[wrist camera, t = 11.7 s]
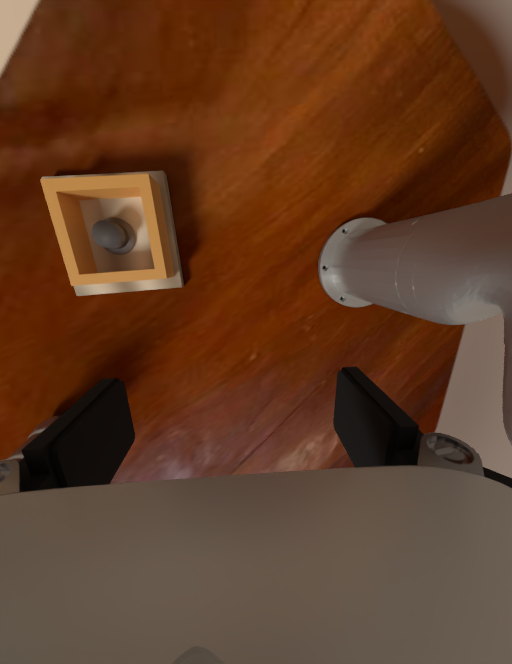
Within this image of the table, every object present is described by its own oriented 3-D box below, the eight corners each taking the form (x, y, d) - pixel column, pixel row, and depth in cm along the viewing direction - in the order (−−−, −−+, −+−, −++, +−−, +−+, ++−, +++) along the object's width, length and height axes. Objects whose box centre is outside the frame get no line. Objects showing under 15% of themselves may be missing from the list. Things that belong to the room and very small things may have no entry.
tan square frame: (159, 184, 30) (148, 173, 26) (174, 276, 33) (166, 278, 29) (65, 189, 29) (39, 179, 25) (90, 282, 32) (71, 285, 28)
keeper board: (166, 174, 31) (155, 160, 26) (184, 285, 35) (177, 289, 30) (50, 181, 30) (19, 167, 25) (83, 294, 34) (61, 299, 29)
